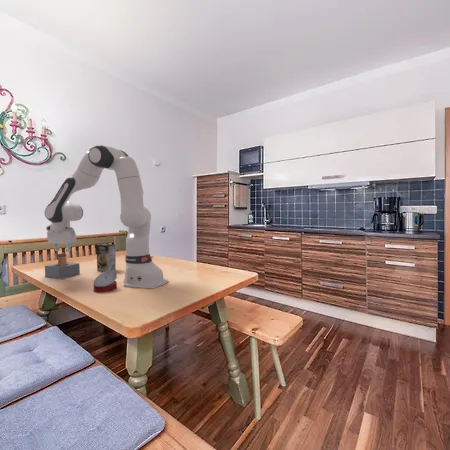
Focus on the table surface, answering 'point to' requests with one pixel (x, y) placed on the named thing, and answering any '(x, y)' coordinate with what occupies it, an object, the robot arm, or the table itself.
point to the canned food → (105, 282)
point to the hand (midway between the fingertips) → (62, 251)
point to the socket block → (62, 270)
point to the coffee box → (106, 257)
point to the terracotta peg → (62, 259)
